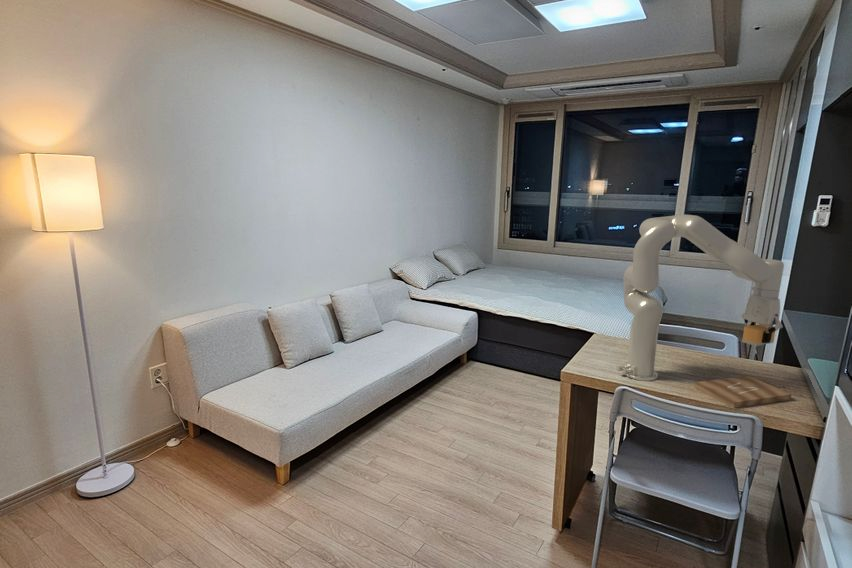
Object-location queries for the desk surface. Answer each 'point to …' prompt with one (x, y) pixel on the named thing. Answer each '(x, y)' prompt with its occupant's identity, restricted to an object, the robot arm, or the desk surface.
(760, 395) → the walnut board
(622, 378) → the desk surface
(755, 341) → the block
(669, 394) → the desk surface
